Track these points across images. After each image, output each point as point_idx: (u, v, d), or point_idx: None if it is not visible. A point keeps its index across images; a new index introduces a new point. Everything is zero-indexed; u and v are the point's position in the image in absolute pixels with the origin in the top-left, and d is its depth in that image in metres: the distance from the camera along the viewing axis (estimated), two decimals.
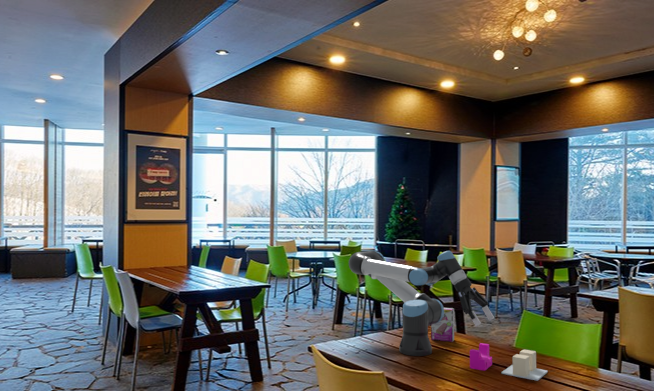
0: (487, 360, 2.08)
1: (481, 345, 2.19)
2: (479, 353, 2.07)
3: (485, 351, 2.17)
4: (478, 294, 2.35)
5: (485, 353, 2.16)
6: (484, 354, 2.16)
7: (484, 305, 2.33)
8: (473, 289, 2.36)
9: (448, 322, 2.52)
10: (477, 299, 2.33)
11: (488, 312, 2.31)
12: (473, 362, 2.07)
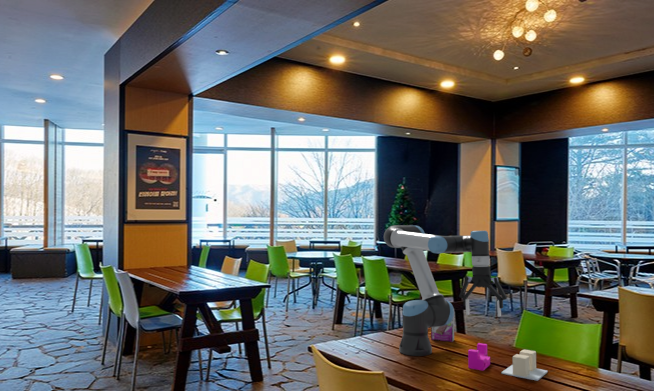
0: (485, 360, 2.08)
1: (479, 345, 2.19)
2: (477, 353, 2.07)
3: (483, 351, 2.17)
4: (496, 286, 2.12)
5: (483, 353, 2.16)
6: (482, 354, 2.16)
7: (499, 299, 2.11)
8: None
9: None
10: None
11: None
12: (471, 362, 2.07)
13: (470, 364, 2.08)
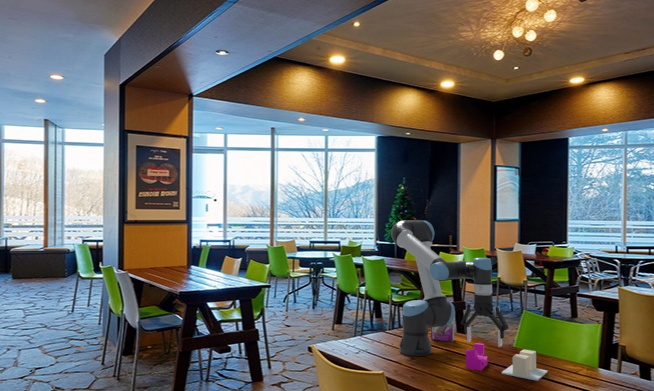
0: (483, 360, 2.08)
1: (476, 345, 2.19)
2: (475, 353, 2.08)
3: (480, 351, 2.17)
4: None
5: (480, 353, 2.16)
6: (479, 354, 2.16)
7: None
8: None
9: None
10: None
11: None
12: (469, 362, 2.08)
13: (468, 364, 2.08)
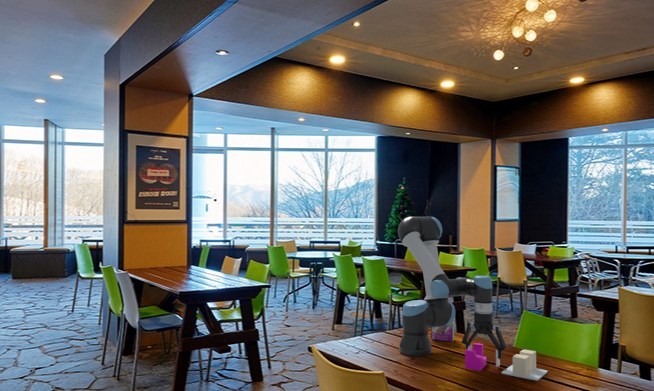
0: (482, 360, 2.08)
1: (475, 345, 2.19)
2: (474, 353, 2.07)
3: (479, 351, 2.17)
4: None
5: (479, 353, 2.16)
6: (478, 354, 2.16)
7: None
8: None
9: None
10: None
11: None
12: (468, 362, 2.07)
13: (467, 364, 2.08)
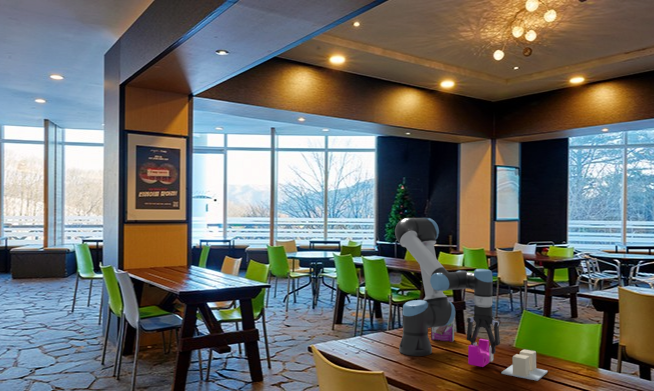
0: (486, 356, 2.07)
1: (481, 341, 2.17)
2: (478, 349, 2.06)
3: (484, 347, 2.15)
4: (494, 330, 2.09)
5: (484, 349, 2.15)
6: (483, 350, 2.15)
7: None
8: None
9: None
10: None
11: None
12: (471, 358, 2.07)
13: (470, 360, 2.07)
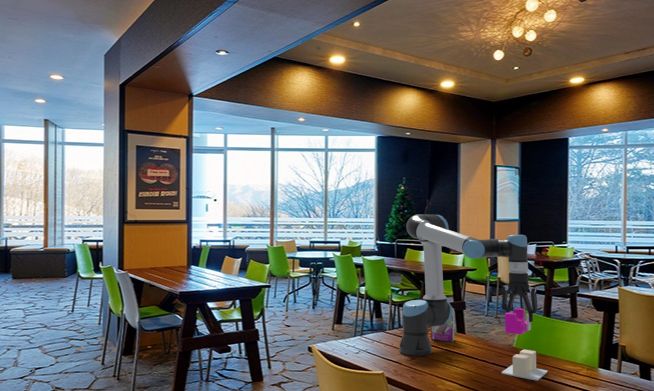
0: (523, 323, 1.97)
1: (516, 310, 2.08)
2: (515, 316, 1.97)
3: (521, 316, 2.06)
4: (531, 297, 2.00)
5: (521, 318, 2.05)
6: (519, 319, 2.05)
7: None
8: (532, 289, 2.00)
9: (448, 322, 2.52)
10: None
11: None
12: (509, 325, 1.97)
13: (507, 328, 1.97)
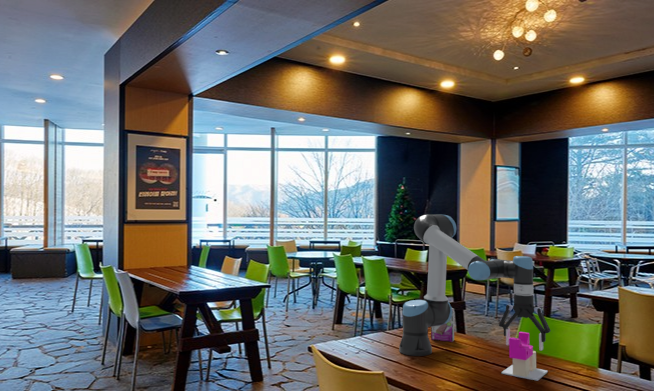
0: (528, 349, 1.96)
1: (521, 334, 2.07)
2: (519, 341, 1.96)
3: (525, 340, 2.05)
4: (539, 318, 1.98)
5: (525, 342, 2.04)
6: (524, 343, 2.04)
7: None
8: None
9: (448, 322, 2.52)
10: None
11: None
12: (513, 351, 1.96)
13: (511, 353, 1.96)
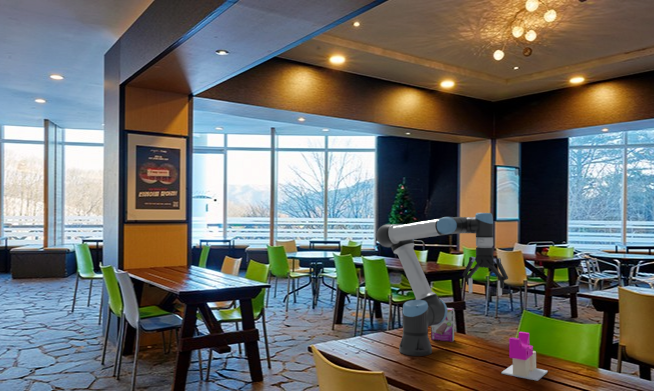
0: (528, 349, 1.96)
1: (521, 334, 2.07)
2: (519, 341, 1.96)
3: (525, 340, 2.05)
4: (498, 267, 2.19)
5: (525, 342, 2.04)
6: (524, 343, 2.04)
7: (500, 279, 2.19)
8: None
9: (448, 322, 2.52)
10: None
11: None
12: (513, 351, 1.96)
13: (511, 353, 1.96)
